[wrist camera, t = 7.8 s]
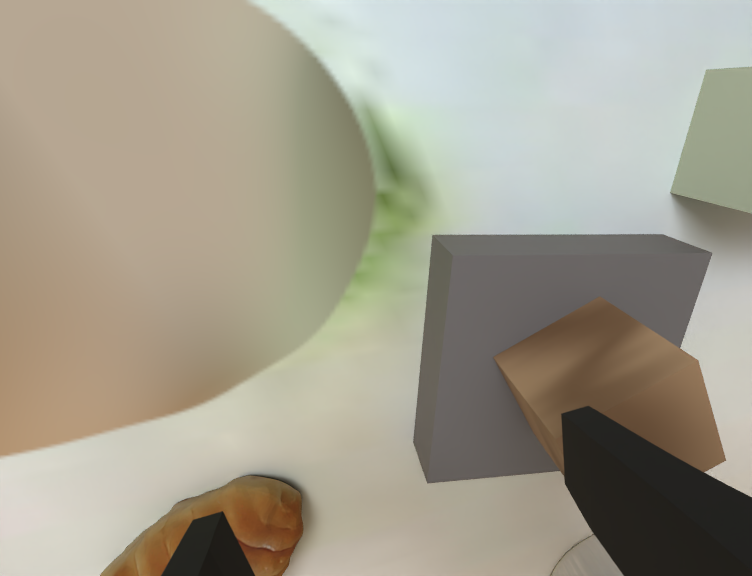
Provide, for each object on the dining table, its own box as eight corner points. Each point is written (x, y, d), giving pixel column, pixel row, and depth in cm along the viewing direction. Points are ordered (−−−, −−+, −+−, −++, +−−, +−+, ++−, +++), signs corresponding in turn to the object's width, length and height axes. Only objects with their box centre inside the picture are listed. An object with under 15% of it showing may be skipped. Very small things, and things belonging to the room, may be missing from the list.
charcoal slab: (654, 231, 20) (712, 253, 17) (600, 420, 23) (640, 463, 21) (429, 231, 18) (452, 255, 15) (410, 434, 22) (427, 483, 19)
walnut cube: (599, 296, 17) (698, 360, 13) (631, 380, 19) (726, 460, 14) (492, 357, 17) (555, 439, 13) (534, 434, 19) (600, 527, 15)
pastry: (225, 435, 20) (211, 507, 16) (339, 500, 22) (348, 575, 19) (97, 564, 21) (59, 655, 18) (217, 611, 24) (205, 698, 20)
